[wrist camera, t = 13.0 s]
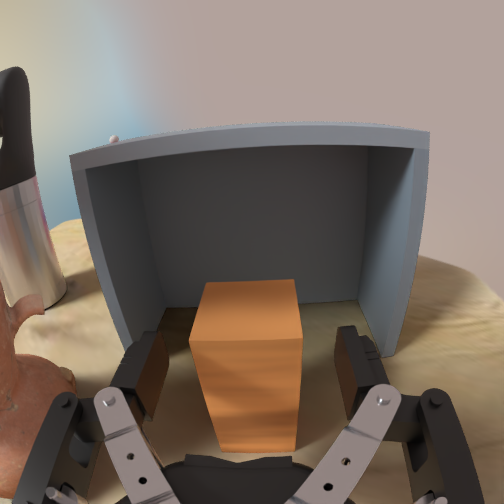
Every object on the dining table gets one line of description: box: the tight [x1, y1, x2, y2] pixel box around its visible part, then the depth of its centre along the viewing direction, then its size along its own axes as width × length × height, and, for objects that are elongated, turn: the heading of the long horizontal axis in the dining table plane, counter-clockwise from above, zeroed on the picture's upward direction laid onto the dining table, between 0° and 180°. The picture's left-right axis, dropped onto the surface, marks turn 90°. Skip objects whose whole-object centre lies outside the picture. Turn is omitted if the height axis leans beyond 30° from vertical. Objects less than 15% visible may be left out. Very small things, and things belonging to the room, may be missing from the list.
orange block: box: [189, 279, 303, 453], centre depth 17 cm, size 5×5×11 cm
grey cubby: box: [69, 122, 430, 358], centre depth 26 cm, size 11×24×19 cm, turn 88°
